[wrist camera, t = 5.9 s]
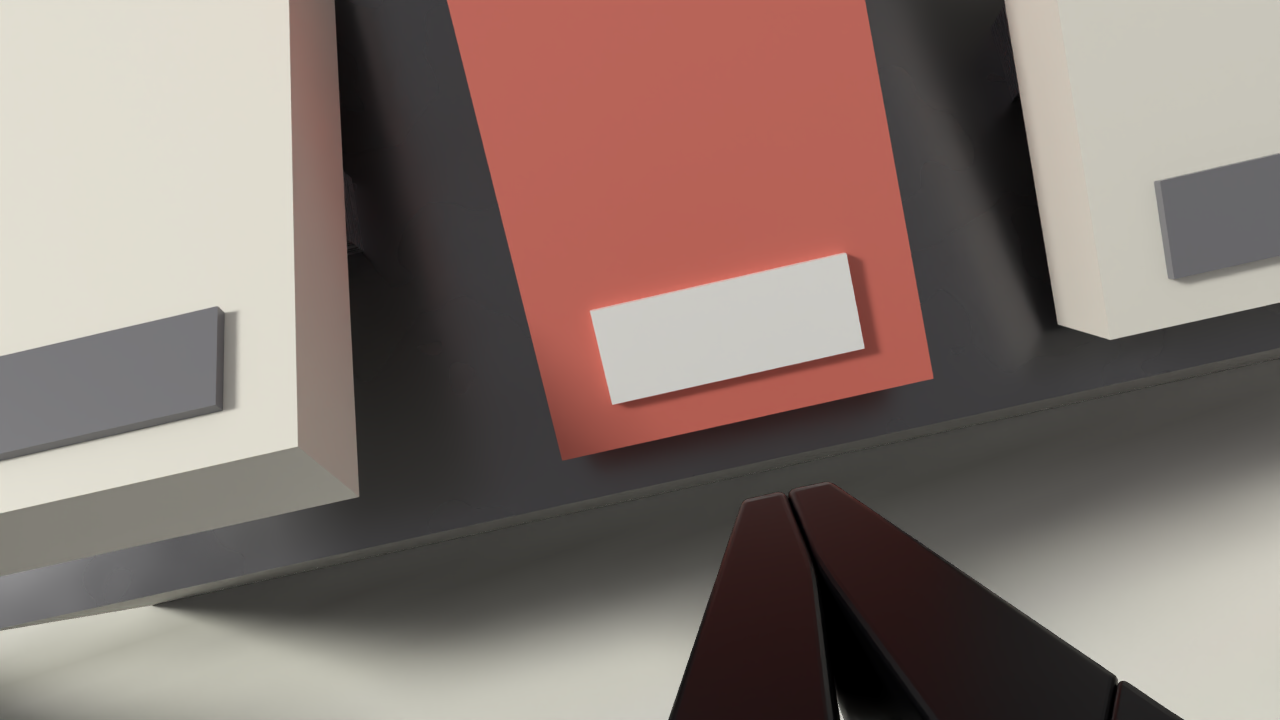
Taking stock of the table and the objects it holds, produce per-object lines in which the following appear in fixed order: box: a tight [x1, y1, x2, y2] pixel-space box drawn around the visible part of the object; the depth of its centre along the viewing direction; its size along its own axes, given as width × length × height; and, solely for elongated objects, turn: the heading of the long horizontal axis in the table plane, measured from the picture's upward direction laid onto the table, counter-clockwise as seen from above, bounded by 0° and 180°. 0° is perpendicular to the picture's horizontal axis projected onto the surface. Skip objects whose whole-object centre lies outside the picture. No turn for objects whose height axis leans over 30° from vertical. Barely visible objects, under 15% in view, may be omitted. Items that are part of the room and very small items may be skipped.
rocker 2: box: [447, 0, 934, 461], centre depth 13 cm, size 9×5×2 cm, turn 11°
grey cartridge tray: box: [0, 0, 1280, 631], centre depth 17 cm, size 10×26×6 cm, turn 102°
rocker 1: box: [0, 0, 359, 576], centre depth 13 cm, size 9×5×2 cm, turn 14°
